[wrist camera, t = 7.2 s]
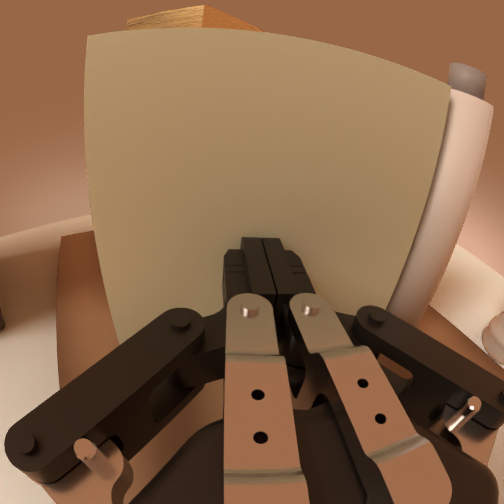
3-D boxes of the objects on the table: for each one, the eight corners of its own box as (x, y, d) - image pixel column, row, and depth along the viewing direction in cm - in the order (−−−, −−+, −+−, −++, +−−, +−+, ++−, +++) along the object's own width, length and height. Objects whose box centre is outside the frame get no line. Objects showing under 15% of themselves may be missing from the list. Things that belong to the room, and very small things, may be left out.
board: (150, 622, 3) (143, 627, 3) (64, 248, 24) (61, 236, 23) (500, 386, 14) (510, 375, 13) (288, 212, 34) (290, 203, 34)
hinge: (399, 305, 19) (466, 77, 11) (421, 337, 16) (508, 86, 8) (127, 311, 16) (113, 11, 8) (117, 353, 14) (86, -6, 6)
